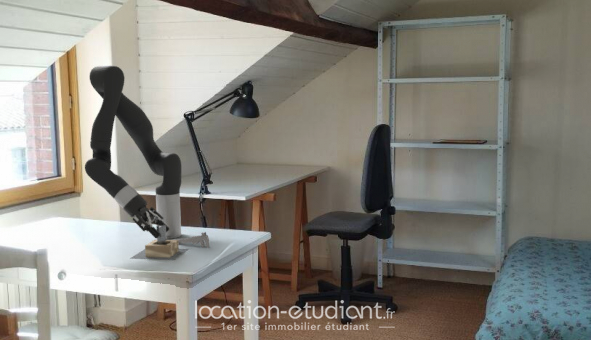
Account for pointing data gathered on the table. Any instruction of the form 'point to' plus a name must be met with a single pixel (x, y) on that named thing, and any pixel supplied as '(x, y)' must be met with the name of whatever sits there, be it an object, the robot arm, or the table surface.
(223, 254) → the table surface
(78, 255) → the table surface
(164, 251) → the wooden square frame
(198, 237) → the caliper
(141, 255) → the mat
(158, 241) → the ball
